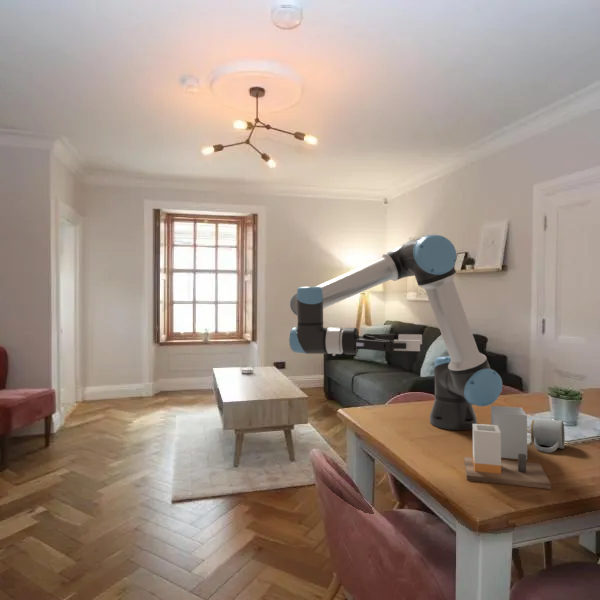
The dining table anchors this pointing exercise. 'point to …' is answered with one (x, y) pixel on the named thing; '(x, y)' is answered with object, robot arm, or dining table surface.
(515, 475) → the pin board
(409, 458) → the dining table surface
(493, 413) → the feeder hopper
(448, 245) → the robot arm
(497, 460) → the sleeve
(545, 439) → the ceramic mug
